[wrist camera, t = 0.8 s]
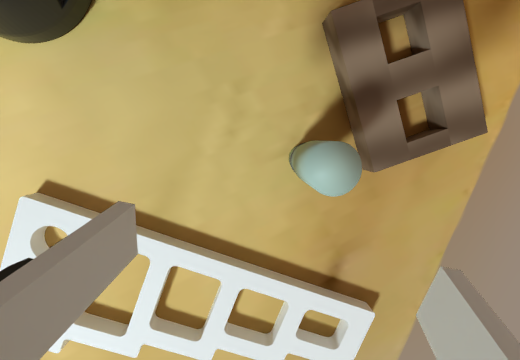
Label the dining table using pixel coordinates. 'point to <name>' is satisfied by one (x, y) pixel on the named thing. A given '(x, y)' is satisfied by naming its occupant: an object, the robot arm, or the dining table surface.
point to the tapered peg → (327, 166)
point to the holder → (216, 326)
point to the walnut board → (405, 77)
